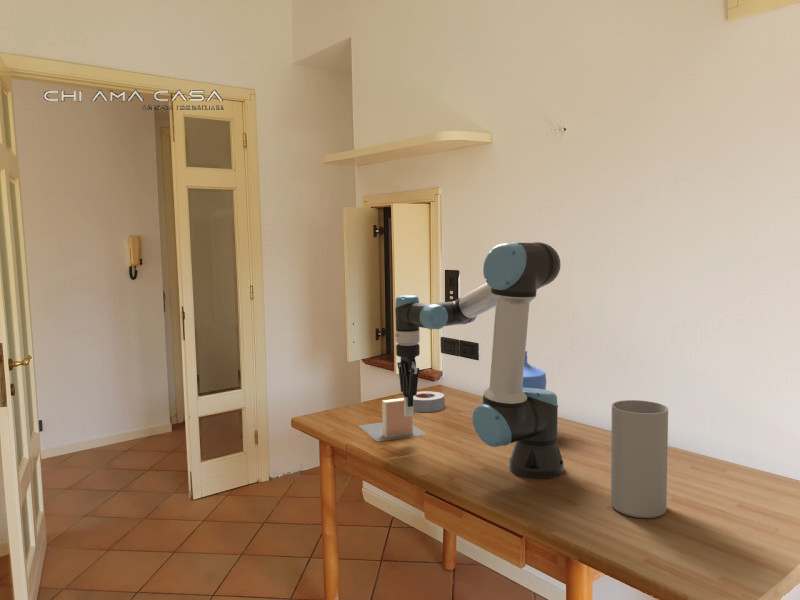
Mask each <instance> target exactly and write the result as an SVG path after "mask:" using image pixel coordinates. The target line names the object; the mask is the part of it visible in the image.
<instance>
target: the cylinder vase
mask: <svg viewBox="0 0 800 600" xmlns="http://www.w3.org/2000/svg"><path fill="white" fill-rule="evenodd" d="M610 430H611V431H610V432H611V434H610V435H611V438H610V439H611V441H610V442H611V443H610V445H611V447H610V449H611V450H610V451H611V454H610V504H611V506H612V508H613V509H614V510H616V511H617V512H618V513H620V514H622V515H624V516H628V517H632V518H638V519H653V518H654V519H655V518H659V517H661V516H663V515H664V514H666V512H667V507H668V506H667V502H668V500H667V499H668V498H667V497H668V494H667V493H668V449H669V448H668V445H669V444H668V439H669V436H668V434H669V407H668V406H667V405H664V404H662V403H658V402H653V401H650V400H649V401H648V400H640V399H639V400H636V399H625V400H617V401H614V402H613V403H612V404H611V429H610Z"/></svg>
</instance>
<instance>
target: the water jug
mask: <svg viewBox="0 0 800 600" xmlns="http://www.w3.org/2000/svg"><path fill="white" fill-rule="evenodd" d="M522 388H537V389H543V390H547V375H546V372H545V371H544V370H542V369H540V368H537V367H536V366H533V365H531V364H530V363H528V350H527V351H526V350H525V360H524V372H523V384H522Z"/></svg>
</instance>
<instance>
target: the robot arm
mask: <svg viewBox="0 0 800 600" xmlns="http://www.w3.org/2000/svg"><path fill="white" fill-rule="evenodd" d="M561 265H562V264H561V258H560V256H559V254H558V251H557V250H555V249H554V248H553V247H552V246H551V245H550V244H547V243H544V242H540V241H537V242H507V243H499V244H498V245H496V246H494V247H493V248H492V249H491V250H490V251H489V252H488V253H487V255H486V257H485V259H484V261H483V271H482V273H483V276H484V277H483V279H485V283H484V284H481V285H480V286H478V287H476V288H475V289H473V290H471V291H470V292H467V293H466V294H465V295H463V296H461V297H459V298H457V299H456V300H454V301H453V300H452V301H443V302H435V303H434V302H432V303H431V302H430V303H426V302H425V303H422V302H420V299H419V297H418V295H414V294H408V295H407V294H406V295H405V294H404V295H398V296H397V297H396V298H395V306H394V311H395V313H394V314H395V317H394V318H395V334H394V337H395V341H396V343H397V344H396V345H395V355H396V356H397V357H399V358H400V361H397V364H396V365H397V368H398V376H399V385H400V392H401V393H402V395H403V398H404V416H406V417H408V416H413V417H414V415H415V412H414V402H413V396H416V395H417V392H418V383H419V374H420V371H421V369H420V368H419V367H417V362H416V357H418V356H420V351H421V349H420V344H419V343H420V341H421V340H420V328H423V329H428V330H441V329H442V328H444V327H448V326H457V325H466V324H470V323H473V322H474V321H475V320H476V318H477V317H478V316H479V315H482V314H483V313H484V314H485V312H488V311H489V310H492V309H493V308H495V311H494V313H495V314H494V324H493V325H494V326H493V335H492V336H493V338H492V350H491V364H490V376H489V387H488V388H487V389H485V390H484V391H483V392H482V394H483V395H482V403H481V404H479V405H478V406H476V408H475V409H474V411H473V412H472V424H473V428H474V431H475V433H476V434H477V436H478V437H479V439H480V440H481V441H482V442H483V443H484V444H485V445H487V446H490V447H493V448H496V447H503V446H504V447H505V446H508V445H509V444H512V443H514V446H513V448H512V451H511V456H510V458H509V466H508V467H509V470H510V472H512V473H513V474H515V475H517V476H521V477H525V478H528V479H529V478H530V479H538V480H539V479H540V480H541V479H551V478H556V477H559V476H561V475H563V473H564V471H565V469H564V467H565V463H564V460H563V457H562V454H561V450H560V448H559V445H558V418H559V417H558V416H559V415H558V409H559V404H558V395H556V393H555V392H553V391H551V390H548V389H546V390H543V389H537V388H522V384H523V372H524V360H525V351H526V347H527V335H528V326H529V325H528V324H529V312H530V303H531V302H532V301H533V300H534V299H535V298H536V297H537V291H538V289H540V288H543V287H544V286H548V285H549V284H551V283H553V282H554V281H555V279H556V278H557V277H558V275H559V273H560V272H561V271H560V270H561Z"/></svg>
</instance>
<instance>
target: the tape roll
mask: <svg viewBox="0 0 800 600" xmlns="http://www.w3.org/2000/svg"><path fill="white" fill-rule="evenodd" d="M413 402H414V413H433V412H434V413H436V412H440V411H442V410H444V409H445V408H446V406H445V405H446V404H445V403H446V402H445V394H444V393H442V392H440V391H438V392H437V391H430V390H429V391H425V390H424V391H417V395H416V396H413Z"/></svg>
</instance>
